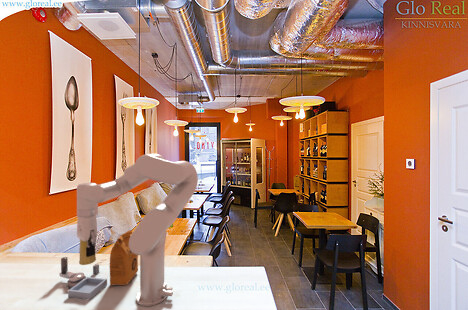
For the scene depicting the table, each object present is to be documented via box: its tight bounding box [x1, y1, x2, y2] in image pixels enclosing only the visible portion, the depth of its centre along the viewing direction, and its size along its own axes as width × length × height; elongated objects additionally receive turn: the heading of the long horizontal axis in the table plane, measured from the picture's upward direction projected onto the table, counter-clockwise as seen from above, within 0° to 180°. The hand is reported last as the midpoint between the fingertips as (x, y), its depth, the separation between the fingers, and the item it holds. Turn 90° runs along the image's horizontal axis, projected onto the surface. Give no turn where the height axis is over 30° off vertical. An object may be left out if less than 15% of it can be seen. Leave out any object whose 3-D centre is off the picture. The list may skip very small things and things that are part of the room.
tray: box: [67, 276, 108, 301], centre depth 96 cm, size 10×10×3 cm
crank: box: [59, 256, 85, 283], centre depth 102 cm, size 12×6×8 cm, turn 72°
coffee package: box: [109, 229, 139, 286], centre depth 105 cm, size 10×12×22 cm
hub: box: [66, 275, 87, 290], centre depth 101 cm, size 7×7×2 cm
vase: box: [78, 238, 97, 266], centre depth 96 cm, size 6×6×14 cm
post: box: [92, 263, 100, 275], centre depth 110 cm, size 2×2×4 cm
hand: (87, 252), depth 96 cm, fingers closed on vase, 5 cm apart
